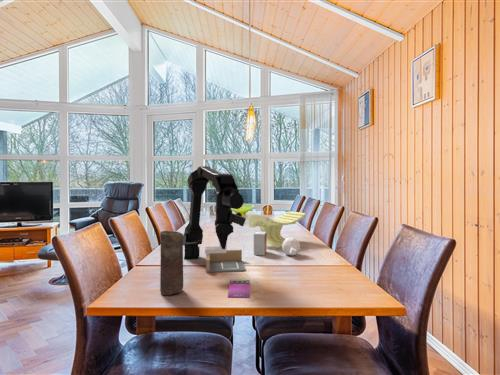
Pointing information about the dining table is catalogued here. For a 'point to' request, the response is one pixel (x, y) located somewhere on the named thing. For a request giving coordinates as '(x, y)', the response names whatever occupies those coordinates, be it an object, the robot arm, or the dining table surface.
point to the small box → (260, 243)
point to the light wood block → (215, 249)
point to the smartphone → (239, 289)
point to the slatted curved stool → (275, 225)
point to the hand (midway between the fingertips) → (223, 247)
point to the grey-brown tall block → (171, 262)
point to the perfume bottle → (291, 246)
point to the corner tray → (225, 261)
